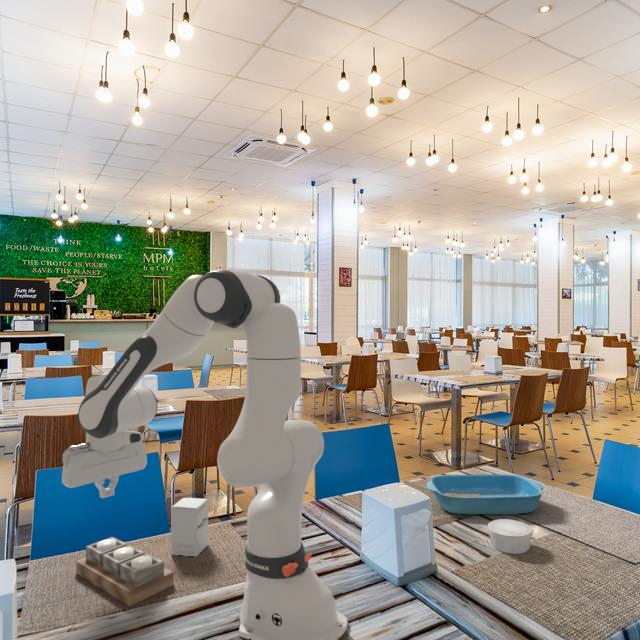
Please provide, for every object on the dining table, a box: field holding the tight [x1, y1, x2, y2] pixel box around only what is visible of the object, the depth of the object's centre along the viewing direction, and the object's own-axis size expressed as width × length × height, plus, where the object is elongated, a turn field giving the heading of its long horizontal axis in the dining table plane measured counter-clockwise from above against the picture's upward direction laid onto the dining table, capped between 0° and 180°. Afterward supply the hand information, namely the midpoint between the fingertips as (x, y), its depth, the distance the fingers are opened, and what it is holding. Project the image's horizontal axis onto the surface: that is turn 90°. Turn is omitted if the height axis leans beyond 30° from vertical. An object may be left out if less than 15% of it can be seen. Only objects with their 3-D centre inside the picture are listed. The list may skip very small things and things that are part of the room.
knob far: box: [97, 538, 116, 552], centre depth 124 cm, size 4×4×3 cm
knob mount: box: [75, 536, 175, 607], centre depth 120 cm, size 23×11×6 cm, turn 52°
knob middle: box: [113, 547, 134, 561], centre depth 120 cm, size 4×4×3 cm
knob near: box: [132, 556, 152, 571], centre depth 115 cm, size 4×4×3 cm
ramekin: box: [487, 518, 534, 555], centre depth 136 cm, size 11×11×5 cm
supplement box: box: [170, 497, 209, 558], centre depth 135 cm, size 7×7×13 cm
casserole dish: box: [425, 473, 544, 515], centre depth 166 cm, size 37×22×7 cm, turn 90°
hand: (107, 496), depth 124 cm, fingers closed
